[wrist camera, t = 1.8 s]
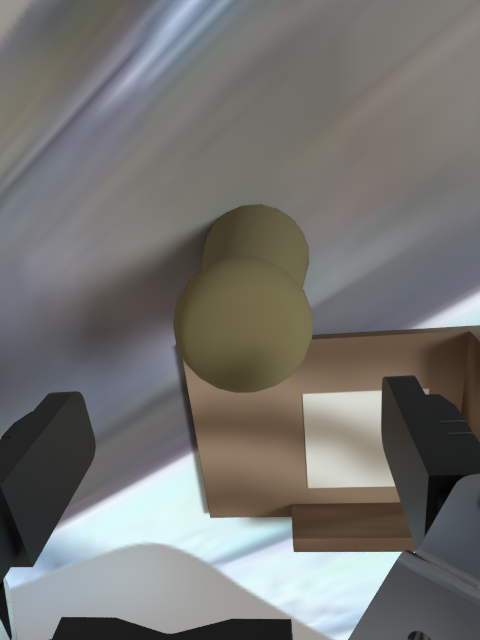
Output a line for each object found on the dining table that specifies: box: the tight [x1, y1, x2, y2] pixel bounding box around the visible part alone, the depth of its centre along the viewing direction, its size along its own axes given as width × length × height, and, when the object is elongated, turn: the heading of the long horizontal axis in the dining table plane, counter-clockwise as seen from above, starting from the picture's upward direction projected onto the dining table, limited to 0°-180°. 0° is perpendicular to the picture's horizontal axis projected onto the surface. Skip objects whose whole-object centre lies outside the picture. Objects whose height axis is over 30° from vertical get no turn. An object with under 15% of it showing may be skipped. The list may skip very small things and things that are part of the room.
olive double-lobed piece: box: [174, 205, 313, 393], centre depth 20 cm, size 6×6×11 cm
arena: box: [183, 326, 480, 552], centre depth 28 cm, size 14×18×4 cm
